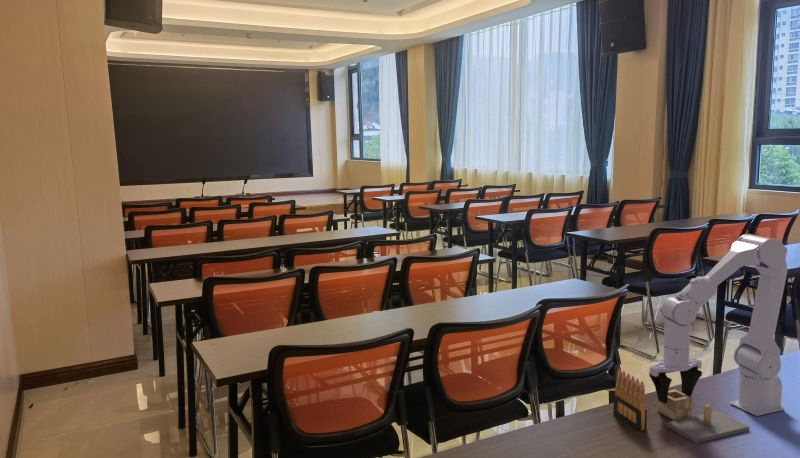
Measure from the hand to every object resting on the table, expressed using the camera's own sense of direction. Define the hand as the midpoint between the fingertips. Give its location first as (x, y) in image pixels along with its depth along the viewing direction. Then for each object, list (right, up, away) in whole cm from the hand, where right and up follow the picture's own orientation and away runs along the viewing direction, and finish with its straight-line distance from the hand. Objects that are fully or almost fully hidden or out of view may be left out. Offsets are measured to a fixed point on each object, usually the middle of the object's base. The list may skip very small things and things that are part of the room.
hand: (674, 399), depth 149 cm
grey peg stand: (+4, -5, -8) cm, 10 cm away
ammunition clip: (-12, -5, -3) cm, 14 cm away
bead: (0, -4, 0) cm, 4 cm away
